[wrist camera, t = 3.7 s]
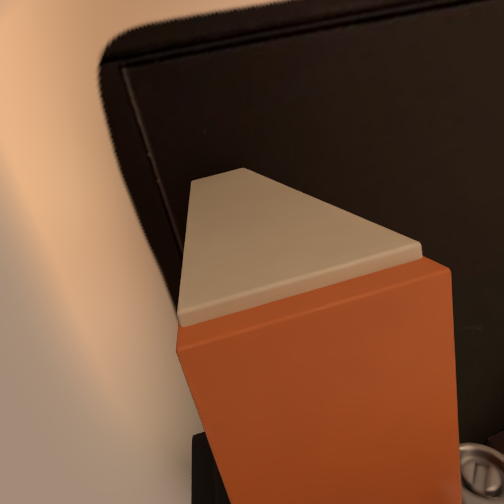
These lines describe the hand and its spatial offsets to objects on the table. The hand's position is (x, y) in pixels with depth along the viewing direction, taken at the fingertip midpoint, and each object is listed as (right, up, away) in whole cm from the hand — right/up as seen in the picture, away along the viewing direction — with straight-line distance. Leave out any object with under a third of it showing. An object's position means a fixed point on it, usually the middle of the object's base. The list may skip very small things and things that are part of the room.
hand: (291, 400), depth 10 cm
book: (-2, +3, +10) cm, 11 cm away
